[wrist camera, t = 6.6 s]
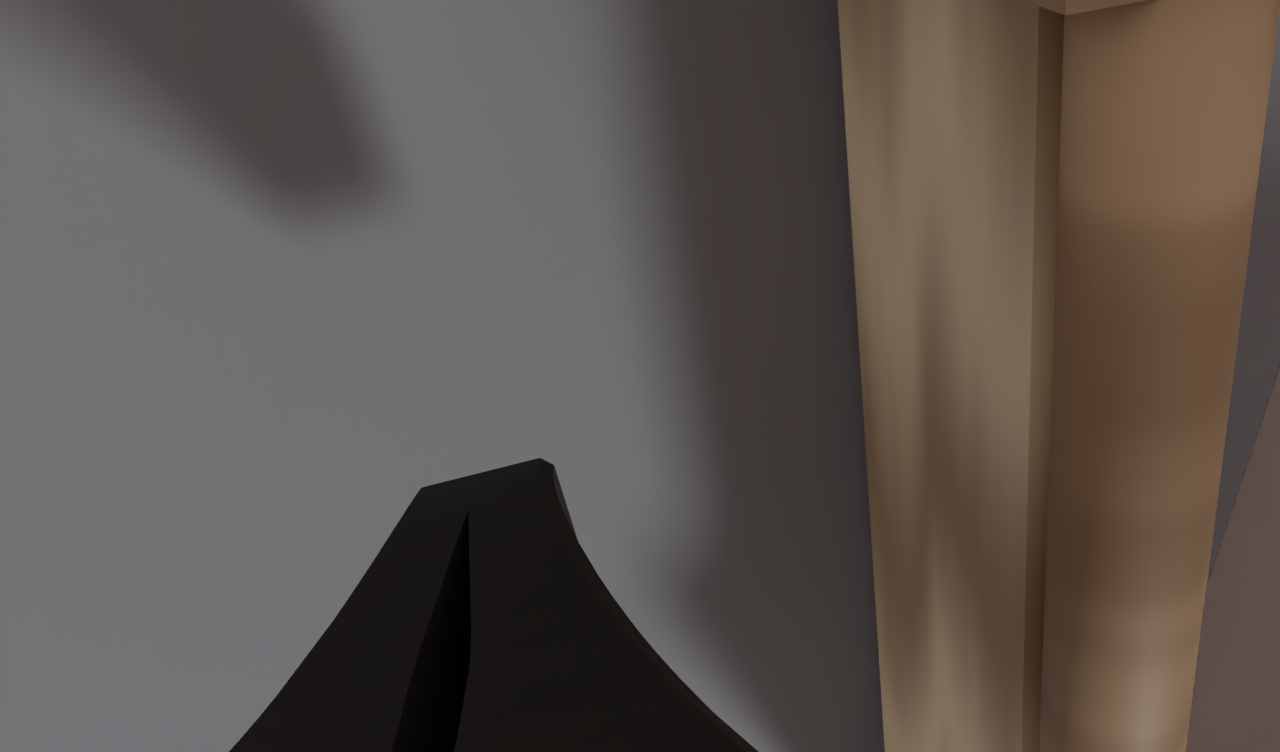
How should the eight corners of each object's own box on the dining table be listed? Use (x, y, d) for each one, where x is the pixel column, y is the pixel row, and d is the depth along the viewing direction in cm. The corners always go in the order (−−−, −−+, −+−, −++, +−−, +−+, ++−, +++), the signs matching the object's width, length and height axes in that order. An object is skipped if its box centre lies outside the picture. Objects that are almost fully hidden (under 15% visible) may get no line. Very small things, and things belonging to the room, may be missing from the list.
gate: (975, 784, 18) (1176, 1198, 13) (870, 806, 18) (1027, 1230, 13) (969, -307, 11) (1448, -429, 5) (790, -275, 11) (1087, -366, 5)
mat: (1560, -591, 11) (1604, -608, 10) (1069, 940, 22) (1080, 962, 22) (-954, -776, 8) (-1033, -808, 8) (-81, 1047, 20) (-95, 1076, 19)
